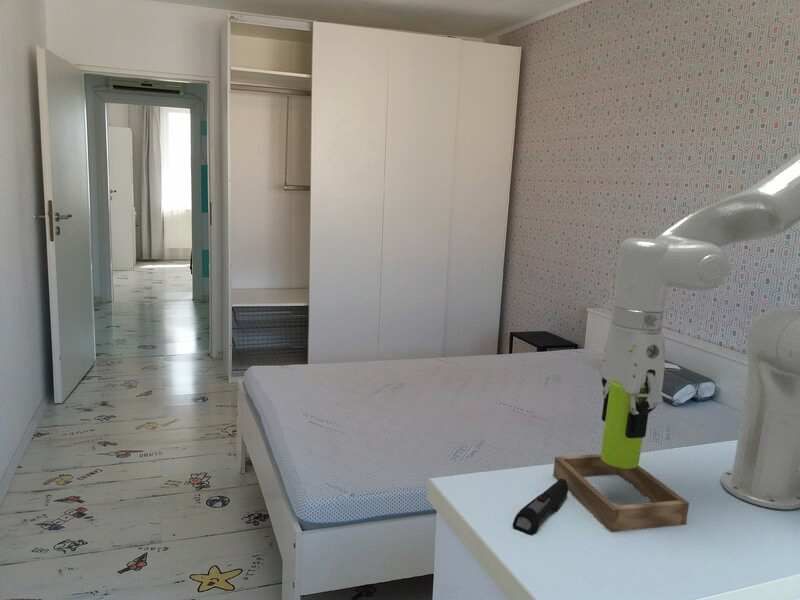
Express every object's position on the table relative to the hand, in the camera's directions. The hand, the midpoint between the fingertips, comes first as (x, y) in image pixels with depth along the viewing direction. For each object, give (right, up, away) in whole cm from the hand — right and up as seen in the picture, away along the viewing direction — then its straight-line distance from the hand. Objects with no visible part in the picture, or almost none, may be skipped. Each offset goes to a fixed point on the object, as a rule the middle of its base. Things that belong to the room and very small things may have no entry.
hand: (622, 427), depth 101 cm
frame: (0, -12, +2) cm, 12 cm away
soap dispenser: (0, -6, +1) cm, 6 cm away
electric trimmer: (-14, -13, -3) cm, 19 cm away
